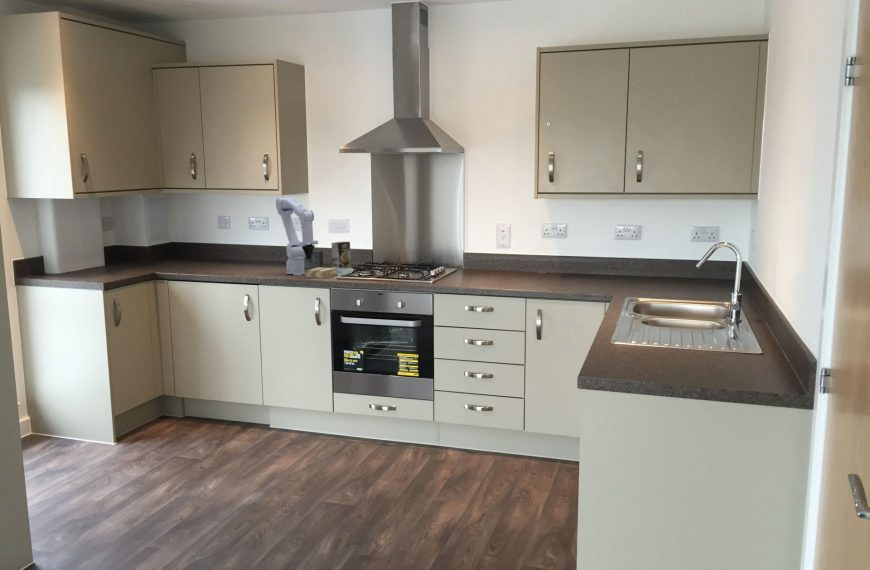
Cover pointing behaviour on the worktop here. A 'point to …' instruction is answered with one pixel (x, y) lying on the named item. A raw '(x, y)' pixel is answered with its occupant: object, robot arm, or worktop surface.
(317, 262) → the small box
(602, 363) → the worktop surface
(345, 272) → the tray
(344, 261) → the coffee box
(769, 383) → the worktop surface
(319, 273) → the tan flat block
